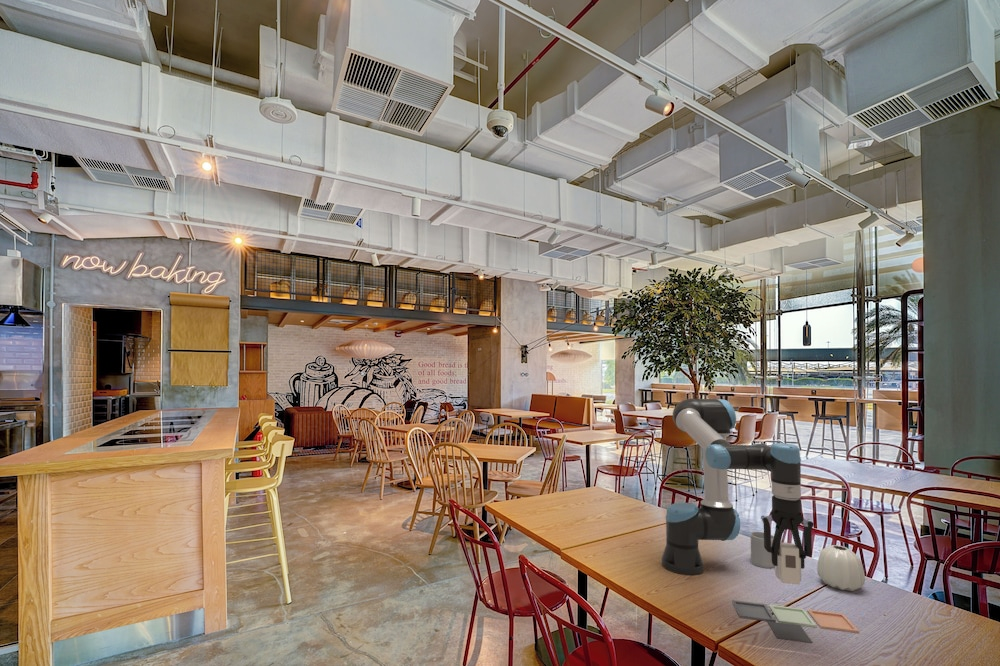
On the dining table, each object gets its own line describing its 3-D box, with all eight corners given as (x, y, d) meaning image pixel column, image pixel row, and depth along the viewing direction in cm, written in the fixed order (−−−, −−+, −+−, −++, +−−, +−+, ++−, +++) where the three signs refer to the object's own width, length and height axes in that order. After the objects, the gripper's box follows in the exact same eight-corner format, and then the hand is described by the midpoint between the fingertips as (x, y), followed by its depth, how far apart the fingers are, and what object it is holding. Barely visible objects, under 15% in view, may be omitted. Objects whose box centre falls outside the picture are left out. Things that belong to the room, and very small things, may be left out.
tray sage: (779, 624, 144) (779, 620, 144) (769, 607, 154) (769, 604, 154) (816, 628, 142) (816, 625, 142) (803, 612, 151) (803, 608, 151)
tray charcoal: (739, 618, 147) (739, 615, 147) (732, 603, 156) (732, 600, 156) (775, 623, 144) (775, 620, 144) (765, 607, 154) (765, 604, 154)
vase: (852, 598, 161) (850, 557, 162) (809, 581, 174) (808, 543, 174) (873, 590, 168) (872, 551, 168) (830, 574, 180) (829, 538, 181)
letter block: (782, 582, 138) (781, 547, 139) (777, 576, 142) (776, 541, 143) (799, 584, 137) (799, 549, 138) (794, 578, 141) (793, 543, 142)
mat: (777, 639, 136) (777, 637, 136) (767, 623, 144) (767, 621, 144) (812, 644, 133) (812, 642, 134) (800, 627, 142) (800, 625, 142)
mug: (766, 569, 183) (766, 540, 184) (746, 561, 190) (745, 533, 191) (785, 564, 189) (784, 535, 189) (764, 556, 196) (763, 529, 197)
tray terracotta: (820, 629, 141) (820, 625, 141) (807, 612, 151) (807, 609, 151) (859, 634, 139) (859, 631, 139) (843, 617, 149) (843, 613, 149)
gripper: (757, 497, 140) (759, 579, 138) (825, 502, 136) (827, 587, 134) (750, 491, 147) (751, 569, 146) (814, 496, 143) (816, 576, 141)
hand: (788, 577), depth 140 cm, fingers closed on letter block, 4 cm apart
